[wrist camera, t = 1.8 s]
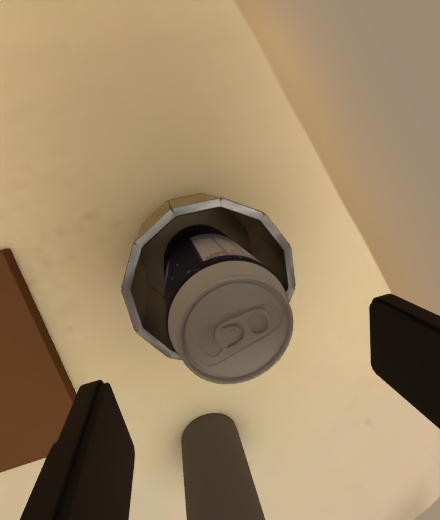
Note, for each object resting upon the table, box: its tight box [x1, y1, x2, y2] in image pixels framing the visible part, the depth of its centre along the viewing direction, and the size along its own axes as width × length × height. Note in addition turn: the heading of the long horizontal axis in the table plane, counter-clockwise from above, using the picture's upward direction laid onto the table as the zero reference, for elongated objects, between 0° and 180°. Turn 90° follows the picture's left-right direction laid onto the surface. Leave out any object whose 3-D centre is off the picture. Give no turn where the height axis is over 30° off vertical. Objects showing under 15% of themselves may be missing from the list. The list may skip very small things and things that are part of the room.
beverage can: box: [164, 225, 293, 384], centre depth 16 cm, size 6×6×12 cm
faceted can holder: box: [121, 193, 295, 360], centre depth 19 cm, size 13×10×7 cm
